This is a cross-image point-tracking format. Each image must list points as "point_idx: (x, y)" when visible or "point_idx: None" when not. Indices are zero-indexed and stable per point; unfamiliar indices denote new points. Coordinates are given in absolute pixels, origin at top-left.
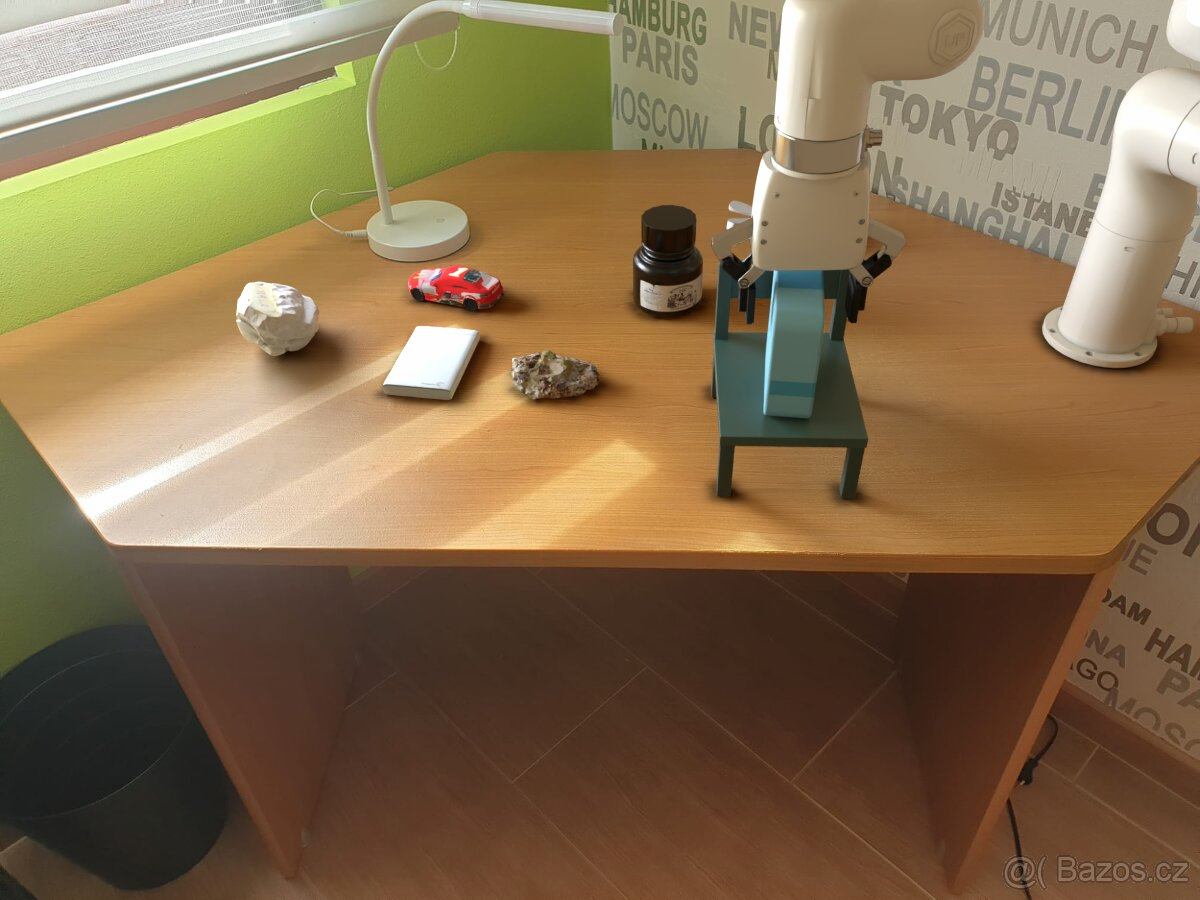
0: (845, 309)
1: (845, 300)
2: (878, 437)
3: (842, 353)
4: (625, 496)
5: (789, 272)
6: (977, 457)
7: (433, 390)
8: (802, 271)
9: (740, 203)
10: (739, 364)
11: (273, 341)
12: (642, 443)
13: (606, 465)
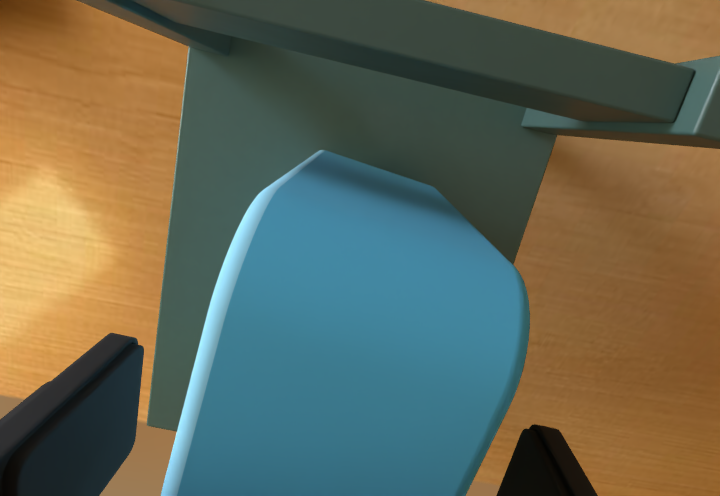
0: (516, 447)
1: (534, 446)
2: (524, 257)
3: (523, 195)
4: (59, 313)
5: (254, 479)
6: (658, 336)
7: None
8: (340, 482)
9: None
10: (237, 187)
11: None
12: (92, 188)
13: (25, 234)
